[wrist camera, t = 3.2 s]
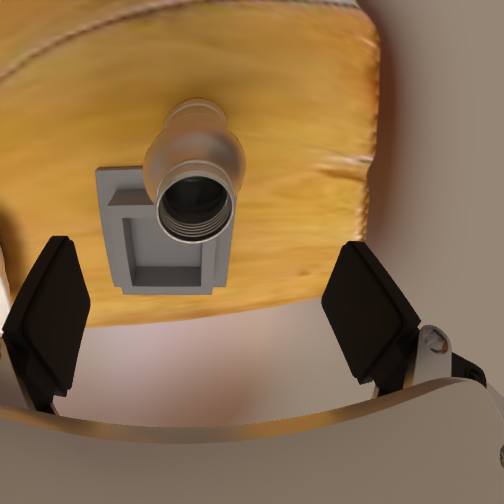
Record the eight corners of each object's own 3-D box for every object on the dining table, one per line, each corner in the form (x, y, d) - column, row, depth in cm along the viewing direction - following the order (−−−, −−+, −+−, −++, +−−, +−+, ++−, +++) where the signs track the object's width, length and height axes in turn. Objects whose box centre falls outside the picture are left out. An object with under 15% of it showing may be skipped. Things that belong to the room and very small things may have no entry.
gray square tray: (97, 168, 28) (83, 184, 24) (238, 168, 32) (245, 185, 28) (115, 282, 38) (109, 306, 34) (224, 282, 42) (229, 306, 38)
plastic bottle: (237, 121, 28) (297, 201, 13) (196, 163, 30) (202, 287, 15) (194, 84, 25) (191, 104, 9) (153, 130, 27) (98, 224, 11)
